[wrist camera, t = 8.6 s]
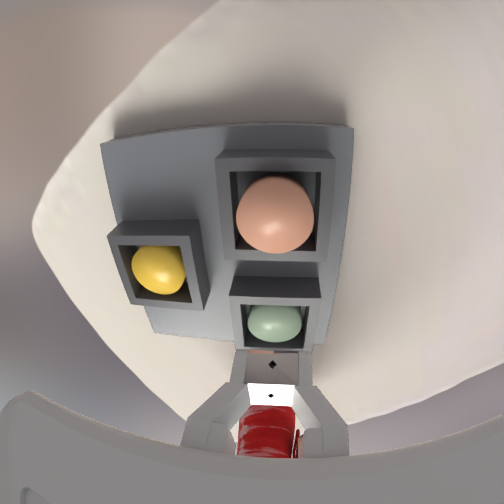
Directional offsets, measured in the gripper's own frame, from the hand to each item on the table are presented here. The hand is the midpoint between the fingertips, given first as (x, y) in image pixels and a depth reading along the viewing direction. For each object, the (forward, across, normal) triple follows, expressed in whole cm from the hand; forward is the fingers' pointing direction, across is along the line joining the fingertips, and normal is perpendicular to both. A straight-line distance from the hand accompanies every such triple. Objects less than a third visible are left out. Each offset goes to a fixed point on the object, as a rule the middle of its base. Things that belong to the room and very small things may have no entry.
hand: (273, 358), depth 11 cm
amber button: (+11, +9, +2) cm, 14 cm away
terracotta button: (+9, 0, -3) cm, 10 cm away
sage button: (+11, 0, +7) cm, 13 cm away
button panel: (+13, +4, +2) cm, 14 cm away
